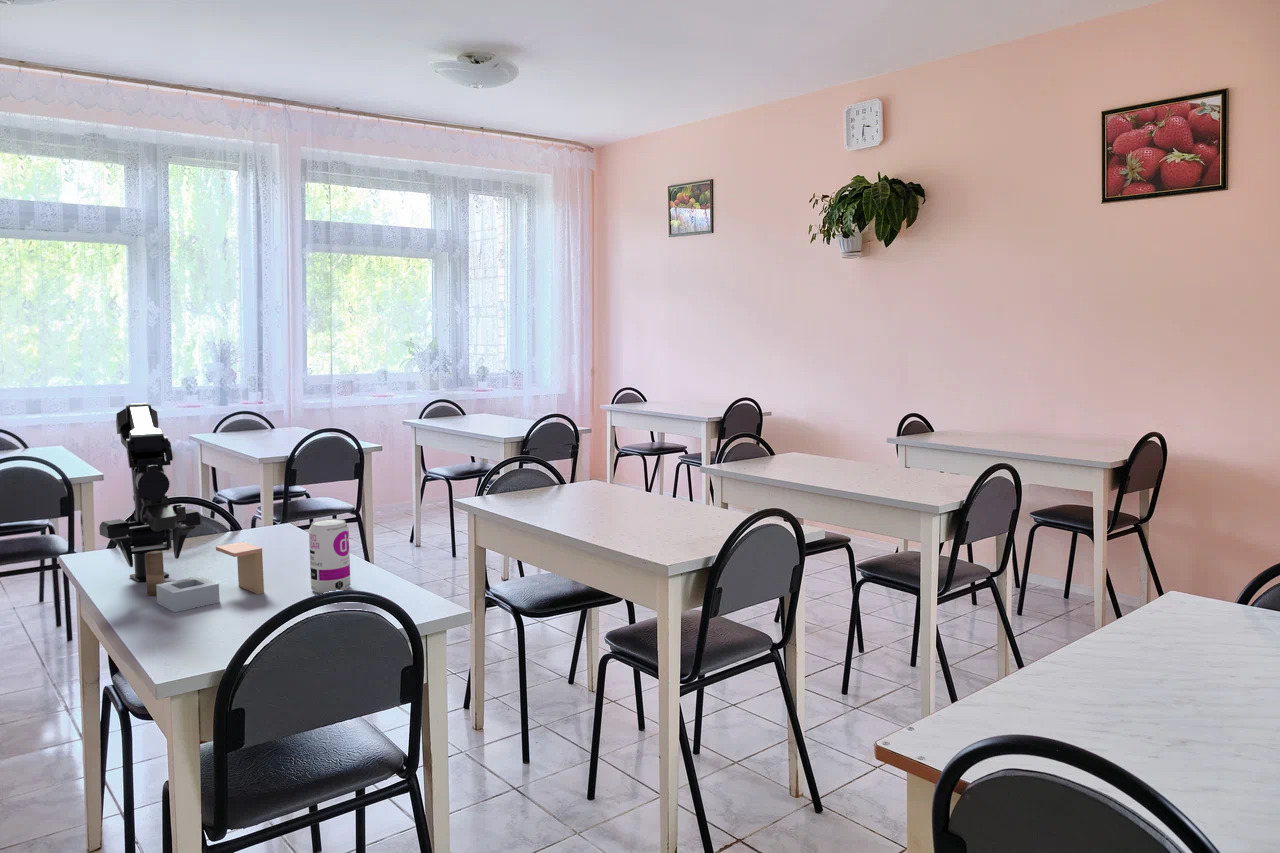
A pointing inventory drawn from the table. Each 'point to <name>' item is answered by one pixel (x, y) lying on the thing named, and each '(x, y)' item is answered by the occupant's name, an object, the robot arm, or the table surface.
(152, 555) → the peg
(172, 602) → the grey and wooden blocks
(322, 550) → the supplement can
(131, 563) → the robot arm
